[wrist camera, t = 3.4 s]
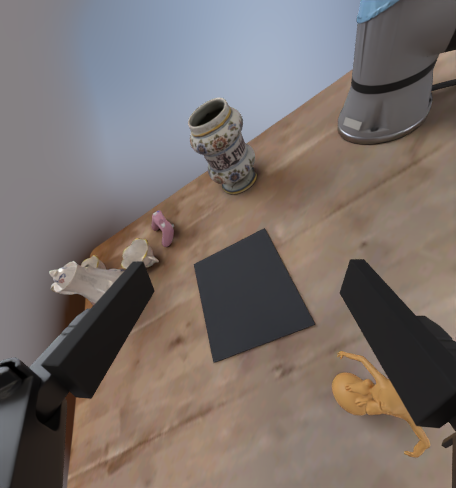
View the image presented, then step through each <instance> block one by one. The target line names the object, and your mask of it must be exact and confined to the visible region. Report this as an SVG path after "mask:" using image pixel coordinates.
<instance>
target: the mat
mask: <svg viewBox="0 0 456 488" xmlns="http://www.w3.org/2000/svg"><path fill="white" fill-rule="evenodd" d="M194 268H195V273H196V278H197V283H198V288H199V293H200V298H201V303H202V308H203V313H204V318H205V323H206V328H207V333H208V338H209V343H210V348H211V353H212V358H213V363H215V362H217V361H220V360H223V359H225V358H228V357H231V356H233V355H236V354H239V353H241V352H244V351H246V350H249V349H252V348H254V347H257V346H260V345H262V344H265V343H268V342H270V341H273V340H276V339H278V338H281V337H284V336H286V335H289V334H292V333H294V332H297V331H300V330H302V329H305V328H308V327H310V326H313V325H315V323H314V321H313V319H312V317H311V316H310V314H309V312H308V310H307V308H306V306H305V304H304V302H303V300H302V298H301V297H300V295H299V293H298V291H297V289H296V287H295V285H294V283H293V281H292V279H291V277H290V276H289V274H288V272H287V270H286V268H285V266H284V264H283V262H282V260H281V258H280V257H279V255H278V253H277V251H276V249H275V247H274V245H273V243H272V241H271V239H270V238H269V236H268V234H267V232H266V230H265V228H264V229H262V230H260V231H258V232H256V233H254V234H252V235H250V236H248V237H246V238H244V239H242V240H241V241H239V242H237V243H235V244H233V245H231V246H229V247H227V248H225V249H223V250H221V251H219V252H217V253H215V254H213V255H211V256H209V257H207V258H205V259H203V260H201V261H199V262H197V263H196V264H194Z"/></svg>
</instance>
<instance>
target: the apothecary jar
mask: <svg viewBox="0 0 456 488" xmlns="http://www.w3.org/2000/svg"><path fill="white" fill-rule="evenodd" d="M188 125H189V127H190V129H191V135H190V143H191V146H192V148H193V149H194V150H195V151H196V152H197V153H199V154H202V155H204V157H205V159H206V160H207V162H208V173H209V176H210V177H211V179H212V180H213V181H215V182H217V183H219V184H222V188H223V190H224V191H225V192H226V193H229V194H238V193H241V192H243V191H245V190H247V189H248V188H249V187H251V186H252V184H253V183H254V182H255V180H256V177H257V174H256V173H255V172H254V171H255V168H254V167H253V164H254V161H255V153H254V150H253V149H252V147H251V146H249V145H248V144H246V143H245V142H244V140H243V137H242V134H241V130H242V126H243V119H242V116H241V114H240V113H239V112H238V111H237V110H236V109H234V108H232V107H230V106H229V105H228V103H227V102H226V100H225V99H223V98H215V99H212V100H210V101H207V102H206V103H204V104H203V105H201V106H200V107H198V108H197V109H196V110H195V111H194V112H193V113H192V115H191V116H190V118H189V121H188Z"/></svg>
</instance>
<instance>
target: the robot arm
mask: <svg viewBox="0 0 456 488" xmlns="http://www.w3.org/2000/svg"><path fill="white" fill-rule="evenodd" d="M357 23H358V25H357V35H356V44H355V54H354V64H353V73H352V82H351V88H350V91H349V93H348V96H347V99H346V101H345V104H344V107H343V108H342V110H341V112H340V115H339V118H338V132H339V134H340V135H341V137H343V138H344V139H345V140H347V141H350V142H353V143H358V144H377V143H384V142H388V141H392V140H395V139H398V138H400V137H403V136H405V135H407V134H409V133H410V132H412V131H414V130H415V129H416V128H418V127H419V126H420V125H421V124H422V123H423V122H424V120H425V119H426V117H427V115H428V113H429V110H430V108H431V104H432V93H431V91H434V90H438V89H442V88H446V87H450V86H454V85H456V79H454V80H450V81H446V82H442V83H438V84H435V85H432V82H433V69H434V66H435V63H436V61H437V58H438V56H439V54H440V53H444V52H448V51H452V50H456V0H361V3H360V8H359V13H358V16H357ZM153 293H154V288H153V286H152V283H151V280H150V278H149V275H148V272H147V270H146V267H145V264H144V262H143V261H133V262H132V263H131V264H130V265H129V266H128V267H127V269H126V270H125V271H124V272H123V273H122V274H121V275H120V276H119V278H118V279H117V280H116V281H115V282H114V283H113V284H112V285H111V287H110V288H109V289H108V290H107V291H106V292H105V293H104V294H103V295H102V297H101V298H100V299H99V300H98V301H97V302H96V303H95V304H94V306H93V307H92V308H91V309H86V310H85V311H84V312H82V313H81V314H80V315H78V316H77V317H76V318H75V319H74V320H73V321H72V322H71V323H70V324H69V326H68V327H67V328H66V329H65V330H64V331H63V332H62V333H61V335H59V336H58V337H57V338H56V339H55V340H54V341H53V343H52V344H51V345H50V346H49V347H48V348H47V349H46V350H45V351H44V352H43V353H42V354H41V356H40V357H39V358H38V359H37V360H36V361H35V362H34V363H33V364H32V365H31V366H30V367H28V366H26V365H25V364H24V363H23V362H22V361H20V360H19V359H17V358H8V359H6V360H3V361H0V488H62V486H63V468H64V450H65V432H66V431H65V430H66V413H67V402H66V399H65V397H66V396H67V394H68V393H69V391H70V392H71V393H72V394H73V395H74V396H75V397H78V398H90V399H91V398H92V397H93V395H94V393H95V392H96V390H97V388H98V387H99V385H100V383H101V381H102V380H103V378H104V376H105V375H106V373H107V371H108V369H109V368H110V366H111V364H112V363H113V361H114V359H115V358H116V356H117V354H118V352H119V351H120V349H121V347H122V346H123V344H124V342H125V341H126V339H127V337H128V335H129V334H130V332H131V330H132V329H133V327H134V325H135V324H136V322H137V320H138V318H139V317H140V315H141V313H142V312H143V310H144V308H145V307H146V305H147V303H148V301H149V300H150V298H151V296H152V295H153ZM340 295H341V296H342V298H343V300H344V301H345V303H346V305H347V307H348V308H349V310H350V312H351V314H352V315H353V317H354V319H355V321H356V322H357V324H358V326H359V328H360V329H361V331H362V333H363V335H364V336H365V338H366V340H367V341H368V343H369V345H370V347H371V348H372V350H373V352H374V354H375V355H376V357H377V359H378V361H379V362H380V364H381V366H382V368H383V369H384V371H385V373H386V375H387V376H388V378H389V380H390V381H391V383H392V385H393V387H394V388H395V390H396V392H397V394H398V395H399V397H400V399H401V401H402V402H403V404H404V406H405V408H406V409H407V411H408V413H409V415H410V416H411V418H412V420H413V421H414V423H415V425H416V426H421V427H433V428H440V427H442V426H443V425H445V424H446V423H447V422H449V423H450V424H451V426H452V427H453V429H454V430H455V431H456V342H455V341H453V340H452V338H451V337H450V336H449V335H448V334H447V333H446V332H445V331H444V330H443V329H442V328H441V327H440V326H439V325H437V324H436V323H434V322H433V321H432V320H430V319H429V318H427V317H426V316H416V315H415V314H414V313H413V312H412V311H411V310H410V309H409V308H408V307H407V306H406V304H405V303H404V302H403V301H402V300H401V299H400V298H399V297H398V296H397V295H396V294H395V293H394V291H393V290H392V289H391V288H390V287H389V286H388V285H387V284H386V283H385V282H384V281H383V279H382V278H381V277H380V276H379V275H378V274H377V273H376V272H375V271H374V270H373V269H372V268H371V266H370V265H369V264H368V263H367V262H366V261H365V260H364V259H350V262H349V265H348V268H347V271H346V274H345V278H344V281H343V284H342V287H341V290H340ZM452 444H453V455H452V488H456V432H455V433H454V434H452V435H451V436H449V437H447V438H446V439H444V440H443V443H442V446H443V447H445V448H447V447H449V446H451V445H452Z"/></svg>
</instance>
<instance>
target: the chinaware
mask: <svg viewBox="0 0 456 488" xmlns="http://www.w3.org/2000/svg"><path fill="white" fill-rule="evenodd" d="M122 256H123V259H124V260H123V261H122V262H121V267H123V268H124V269H127V267H128V266H129V265H130V264H131V263H132V262H133V261H143V262H144V264H145V267H150V266H152V265H153V263H155V262H159V260H157V259H156V258H155V257H154V256H153V251H152V249H151V247H150V246H149V245H148V241H147V240H146V239H140V238H138V239H135V240H134V241H133V242H132V244H131V246H129V247H127V248H126V249H125V250H124V251H123V255H122ZM124 269H119V270H118V269H109V270H106V267H105V265H104V264H103V263H102V262H101V261H100V260H99V259H98V257H97V256H96V255H93V256H92V257H91V258H89V259H86V260H85V261H83V263H82V264H81V266H79V265H77V264H76V263H75V262H69V263H68V264H67V265H65V266H64V267H63V268H60V269H58V270H52V271H50V272H49V274H50V275H51V276H52V277H53V280H54V282H55V283H53V284H52V286H51V290H52V291H54V292H56V293H61V294H77V293H79V294H81V295H82V296H84V297H86V298H87V299H88V300H89V301H90V302H91V303H92V305H93V306H94V304H95V303H96V302H97V301H98V300H99V299H100V298H101V297H102V295H103V294H104V293H105V292H106V291H107V290H108V289H109V288H110V287H111V285H112V284H113V283H114V282H115V281H116V280H117V279H118V278H119V276H120V275H121V274H122V273H123V272H124V271H125V270H124Z"/></svg>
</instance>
